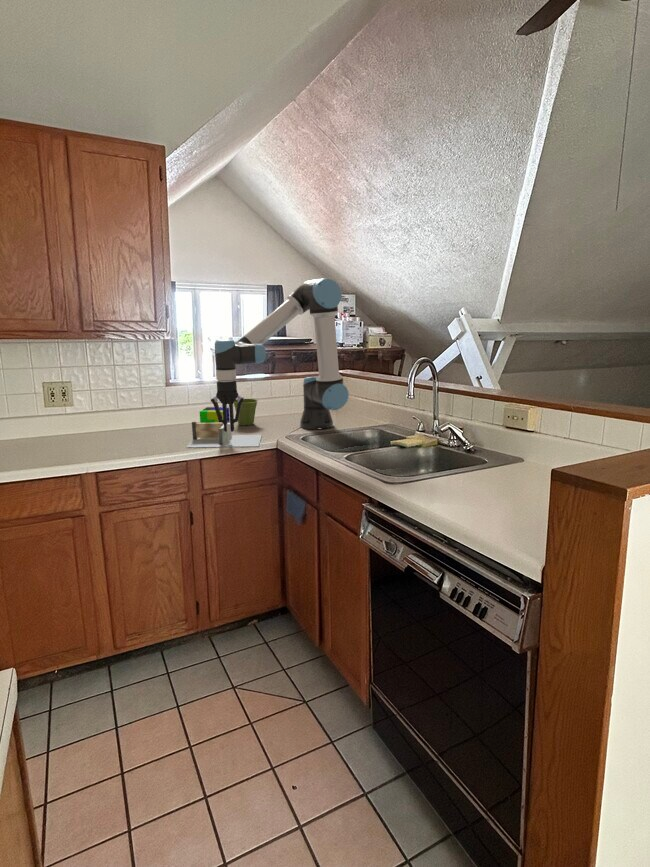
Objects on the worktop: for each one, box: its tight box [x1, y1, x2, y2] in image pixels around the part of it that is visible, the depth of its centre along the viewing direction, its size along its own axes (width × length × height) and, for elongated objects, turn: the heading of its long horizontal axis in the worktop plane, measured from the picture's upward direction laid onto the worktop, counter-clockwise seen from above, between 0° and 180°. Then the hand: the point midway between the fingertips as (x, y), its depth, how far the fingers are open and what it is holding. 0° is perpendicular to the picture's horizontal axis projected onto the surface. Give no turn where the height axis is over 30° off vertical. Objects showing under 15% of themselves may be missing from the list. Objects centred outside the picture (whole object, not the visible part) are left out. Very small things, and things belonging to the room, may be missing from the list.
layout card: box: [186, 434, 263, 449], centre depth 205 cm, size 28×18×1 cm, turn 93°
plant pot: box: [233, 398, 259, 426], centre depth 234 cm, size 12×12×11 cm
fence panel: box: [218, 424, 227, 445], centre depth 200 cm, size 11×1×6 cm, turn 179°
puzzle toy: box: [199, 406, 230, 423], centre depth 220 cm, size 10×10×10 cm
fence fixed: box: [191, 421, 229, 440], centre depth 207 cm, size 15×2×8 cm, turn 93°
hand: (229, 439), depth 199 cm, fingers closed
